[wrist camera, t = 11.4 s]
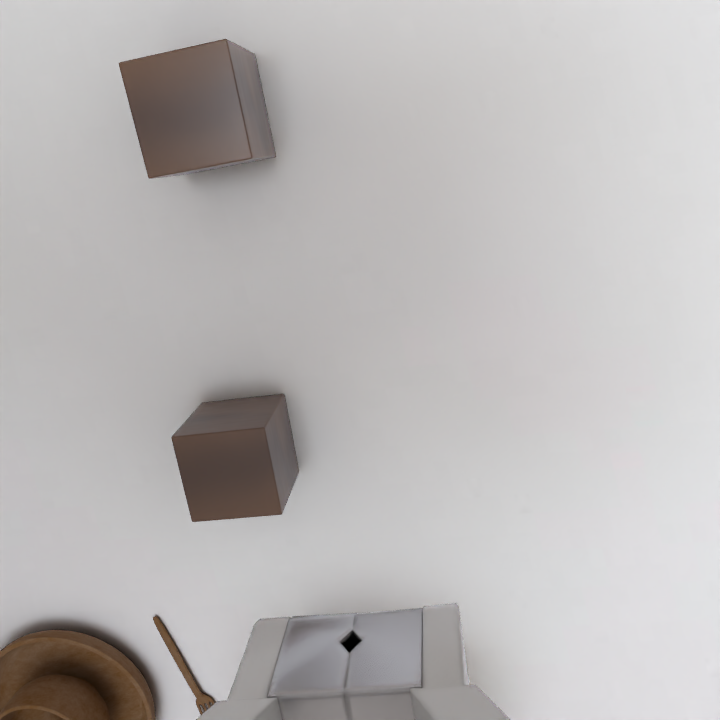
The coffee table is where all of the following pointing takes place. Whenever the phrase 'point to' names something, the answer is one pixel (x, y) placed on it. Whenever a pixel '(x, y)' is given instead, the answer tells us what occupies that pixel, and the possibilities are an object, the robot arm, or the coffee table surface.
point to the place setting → (78, 679)
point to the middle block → (198, 108)
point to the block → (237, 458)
